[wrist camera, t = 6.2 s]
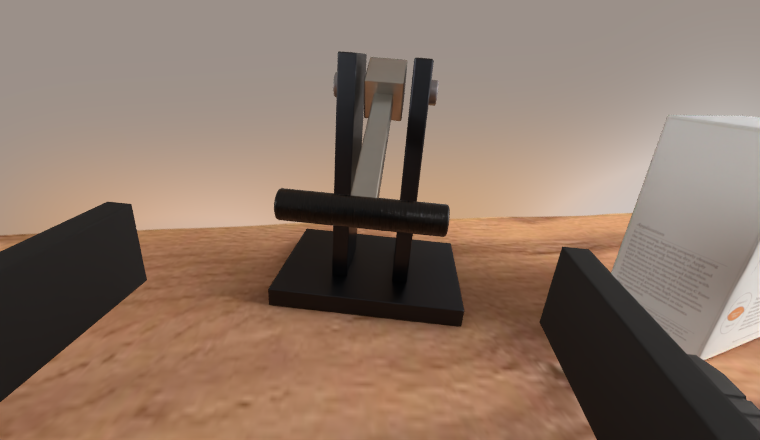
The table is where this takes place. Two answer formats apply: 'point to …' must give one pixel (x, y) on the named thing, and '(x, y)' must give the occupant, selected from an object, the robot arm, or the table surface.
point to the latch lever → (369, 171)
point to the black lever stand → (367, 252)
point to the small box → (699, 234)
